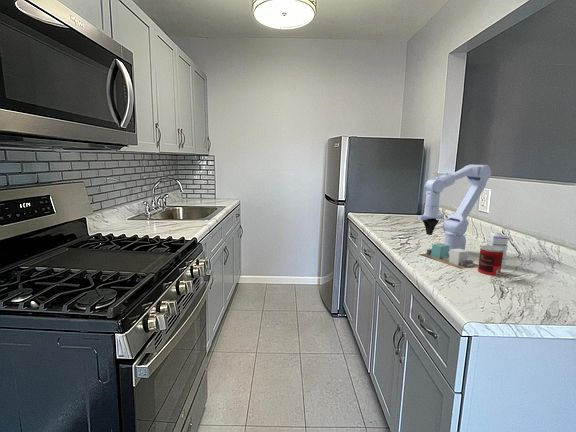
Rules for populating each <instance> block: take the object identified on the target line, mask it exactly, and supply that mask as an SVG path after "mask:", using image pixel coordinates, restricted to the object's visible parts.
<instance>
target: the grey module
mask: <svg viewBox="0 0 576 432" xmlns="http://www.w3.org/2000/svg"><path fill="white" fill-rule="evenodd" d="M448 256H449V262H450V263H453V264H456V265H459V263H461V262H463V261H466V260H469V250H466V249H465V250H463V249H460V248H459V249H451V250H450V252H449V255H448Z"/></svg>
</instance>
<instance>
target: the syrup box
mask: <svg viewBox="0 0 576 432" xmlns="http://www.w3.org/2000/svg"><path fill="white" fill-rule="evenodd" d="M508 240H509V236H508V235H506V234H504V233H500V232H488V237H487V245H488V246H496V247H500V248H502V249H503V258H502V265H501V269H505V268H506V259H507V250H508V249H507V248H508Z"/></svg>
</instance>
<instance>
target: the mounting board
mask: <svg viewBox="0 0 576 432" xmlns="http://www.w3.org/2000/svg"><path fill="white" fill-rule="evenodd" d="M418 256H421V257H425V258H426V259H427V258H428V259H429V260H433V261H436V262H439V263H442V264H444V265H448V266H451V267H453V268H457V269H459V270H462V269H468V268H469V269H470V268H474V267H478V264H476V263H474V262H473V266H471V267H463V266H462V265H456V264H453V263H450V262H449V261H446V260H443V259H438V258H435V257H432V256H431V255H427V254H426V252H425V253H420V254H419V253H418Z"/></svg>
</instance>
